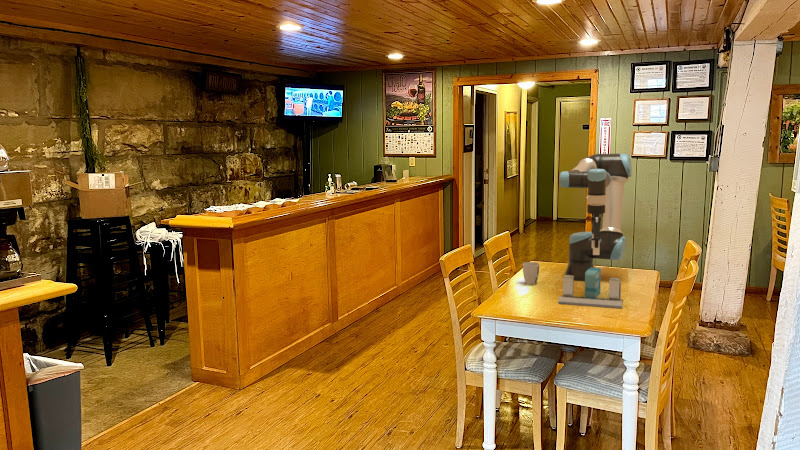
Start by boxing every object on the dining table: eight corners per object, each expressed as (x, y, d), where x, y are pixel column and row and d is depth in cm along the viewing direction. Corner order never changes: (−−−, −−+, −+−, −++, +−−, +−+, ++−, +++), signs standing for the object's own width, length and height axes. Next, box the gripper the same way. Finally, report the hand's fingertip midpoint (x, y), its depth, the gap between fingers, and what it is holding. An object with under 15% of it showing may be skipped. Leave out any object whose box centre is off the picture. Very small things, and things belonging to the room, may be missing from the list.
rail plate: (561, 297, 272) (561, 273, 270) (622, 302, 262) (623, 276, 261) (558, 303, 263) (558, 278, 261) (622, 308, 253) (622, 282, 251)
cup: (539, 285, 293) (540, 265, 292) (522, 285, 294) (522, 265, 293) (538, 281, 301) (538, 262, 300) (522, 281, 302) (522, 262, 301)
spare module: (610, 297, 270) (611, 279, 268) (620, 298, 268) (621, 280, 267) (610, 300, 265) (611, 282, 264) (620, 301, 264) (620, 282, 262)
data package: (594, 299, 268) (595, 273, 266) (584, 298, 270) (585, 272, 268) (600, 292, 278) (600, 267, 276) (590, 291, 280) (590, 266, 278)
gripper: (586, 200, 278) (585, 245, 282) (588, 208, 254) (587, 257, 258) (603, 200, 276) (602, 245, 280) (607, 208, 252) (606, 257, 256)
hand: (595, 251), depth 269 cm, fingers open, 13 cm apart
